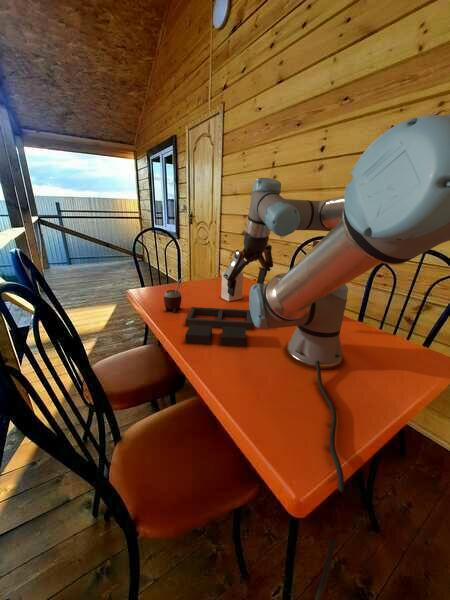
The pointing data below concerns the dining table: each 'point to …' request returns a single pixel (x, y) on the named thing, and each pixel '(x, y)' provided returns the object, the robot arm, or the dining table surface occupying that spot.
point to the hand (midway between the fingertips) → (245, 289)
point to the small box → (237, 288)
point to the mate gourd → (173, 299)
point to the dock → (219, 317)
